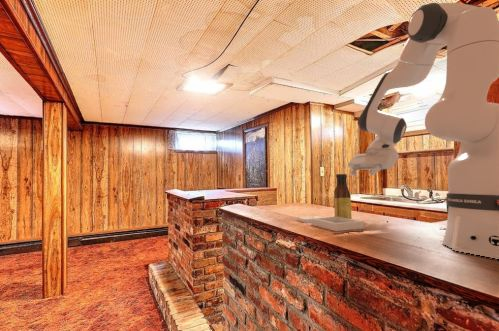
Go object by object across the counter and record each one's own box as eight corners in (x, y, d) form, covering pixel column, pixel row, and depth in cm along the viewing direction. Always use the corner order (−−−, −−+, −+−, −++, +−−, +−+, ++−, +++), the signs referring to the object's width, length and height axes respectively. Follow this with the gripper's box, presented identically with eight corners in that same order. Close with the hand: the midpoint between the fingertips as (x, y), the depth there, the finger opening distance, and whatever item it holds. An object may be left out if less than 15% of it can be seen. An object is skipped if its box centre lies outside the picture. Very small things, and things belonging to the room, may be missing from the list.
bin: (363, 231, 85) (363, 221, 85) (335, 234, 79) (335, 223, 79) (337, 225, 95) (337, 216, 95) (311, 228, 90) (311, 218, 90)
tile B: (315, 221, 96) (315, 218, 96) (303, 222, 95) (303, 219, 95) (308, 219, 101) (308, 216, 101) (297, 220, 99) (297, 217, 99)
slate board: (331, 224, 98) (331, 221, 98) (306, 226, 93) (306, 223, 93) (314, 220, 107) (314, 217, 107) (290, 222, 102) (290, 219, 102)
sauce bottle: (354, 224, 98) (354, 174, 99) (345, 226, 95) (345, 173, 96) (340, 222, 104) (340, 174, 105) (330, 223, 100) (330, 173, 101)
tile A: (327, 220, 99) (327, 217, 99) (318, 221, 97) (318, 218, 97) (318, 218, 104) (318, 215, 104) (309, 219, 101) (309, 216, 101)
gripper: (354, 149, 118) (338, 169, 113) (395, 144, 100) (379, 168, 95) (361, 159, 120) (346, 179, 115) (403, 156, 101) (387, 180, 96)
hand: (361, 174), depth 105 cm, fingers open, 8 cm apart
